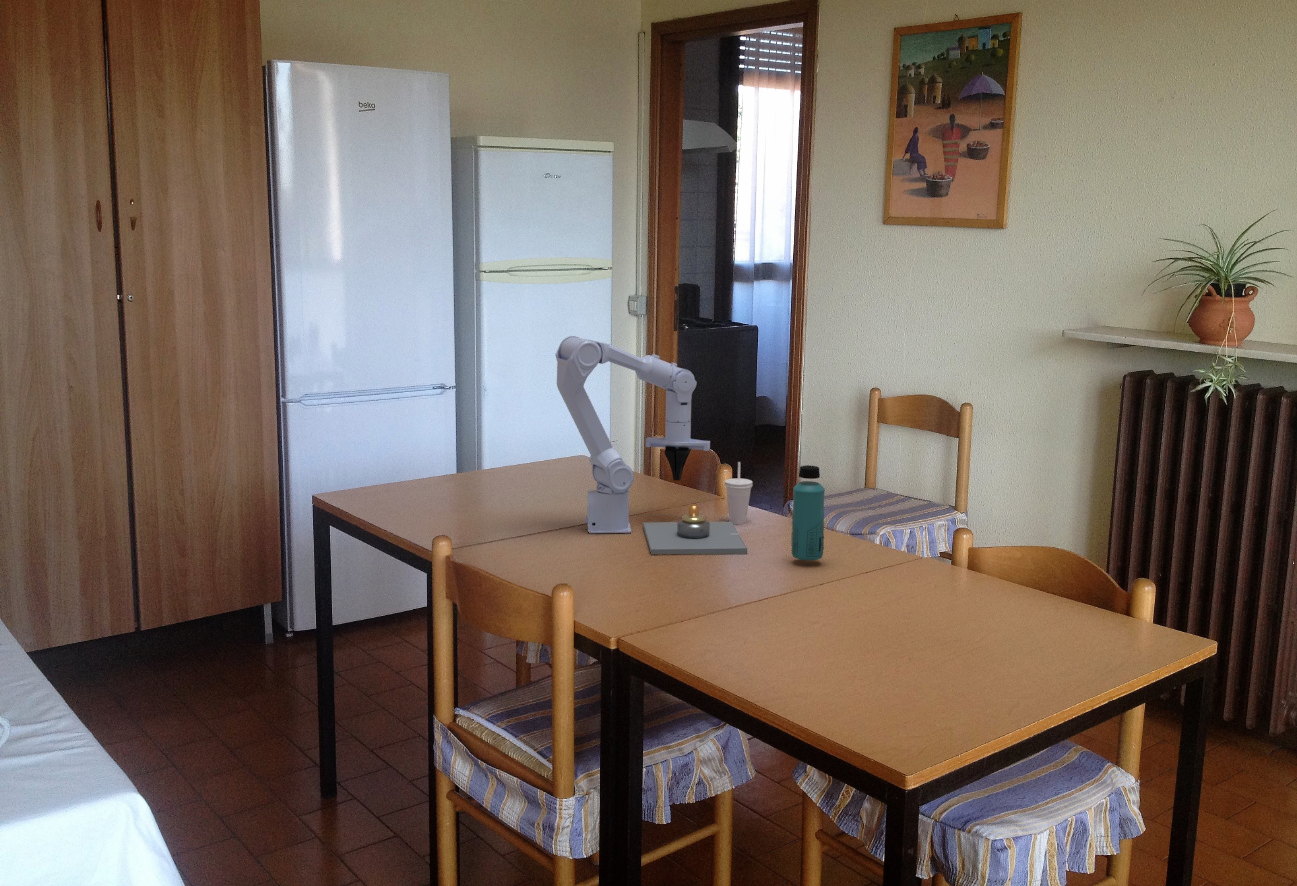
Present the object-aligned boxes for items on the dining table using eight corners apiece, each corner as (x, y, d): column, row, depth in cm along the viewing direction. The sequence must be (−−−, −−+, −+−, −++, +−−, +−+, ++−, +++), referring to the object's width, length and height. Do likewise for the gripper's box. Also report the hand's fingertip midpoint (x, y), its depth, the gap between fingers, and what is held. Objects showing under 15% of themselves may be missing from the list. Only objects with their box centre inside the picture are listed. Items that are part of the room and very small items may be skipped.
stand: (651, 555, 239) (651, 548, 239) (643, 527, 261) (643, 522, 260) (747, 553, 241) (747, 547, 240) (731, 526, 262) (731, 521, 262)
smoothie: (751, 519, 269) (753, 460, 266) (751, 526, 263) (753, 465, 260) (724, 518, 270) (725, 459, 267) (723, 525, 263) (724, 465, 261)
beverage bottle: (822, 568, 231) (826, 470, 227) (788, 566, 232) (792, 468, 228) (824, 559, 237) (827, 463, 233) (791, 557, 238) (794, 462, 235)
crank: (709, 538, 247) (710, 518, 246) (676, 537, 247) (677, 517, 246) (708, 523, 259) (709, 504, 258) (677, 523, 259) (677, 503, 258)
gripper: (713, 419, 264) (712, 478, 266) (651, 416, 267) (651, 473, 270) (706, 424, 257) (705, 484, 259) (643, 421, 261) (642, 480, 263)
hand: (677, 479), depth 264 cm, fingers closed
